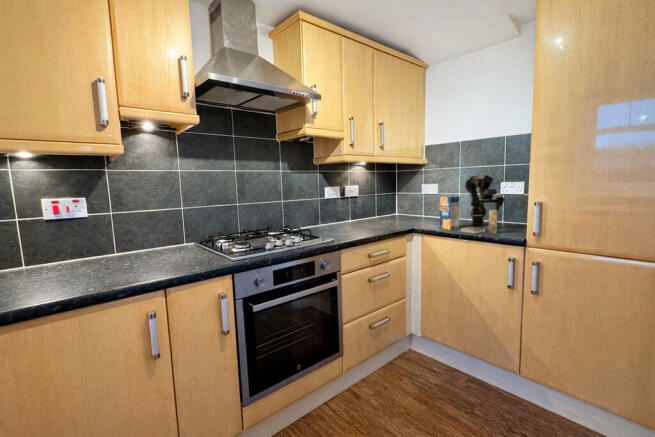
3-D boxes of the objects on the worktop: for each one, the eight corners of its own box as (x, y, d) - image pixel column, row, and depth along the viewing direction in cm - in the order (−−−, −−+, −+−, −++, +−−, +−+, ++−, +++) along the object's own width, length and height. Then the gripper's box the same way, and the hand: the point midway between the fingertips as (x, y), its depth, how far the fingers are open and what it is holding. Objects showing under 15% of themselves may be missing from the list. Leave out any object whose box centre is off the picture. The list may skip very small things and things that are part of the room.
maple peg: (487, 232, 188) (487, 210, 186) (491, 231, 190) (492, 209, 188) (493, 233, 184) (494, 210, 182) (498, 232, 186) (499, 210, 185)
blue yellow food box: (450, 230, 201) (450, 196, 199) (439, 227, 212) (440, 196, 209) (459, 229, 203) (459, 196, 201) (448, 227, 214) (448, 195, 211)
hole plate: (460, 231, 195) (460, 228, 195) (470, 229, 200) (470, 226, 200) (474, 233, 187) (474, 230, 186) (485, 231, 191) (485, 228, 191)
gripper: (472, 185, 197) (476, 203, 187) (503, 184, 193) (510, 202, 183) (468, 196, 205) (473, 214, 196) (498, 196, 202) (504, 214, 192)
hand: (490, 211), depth 191 cm, fingers open, 9 cm apart
